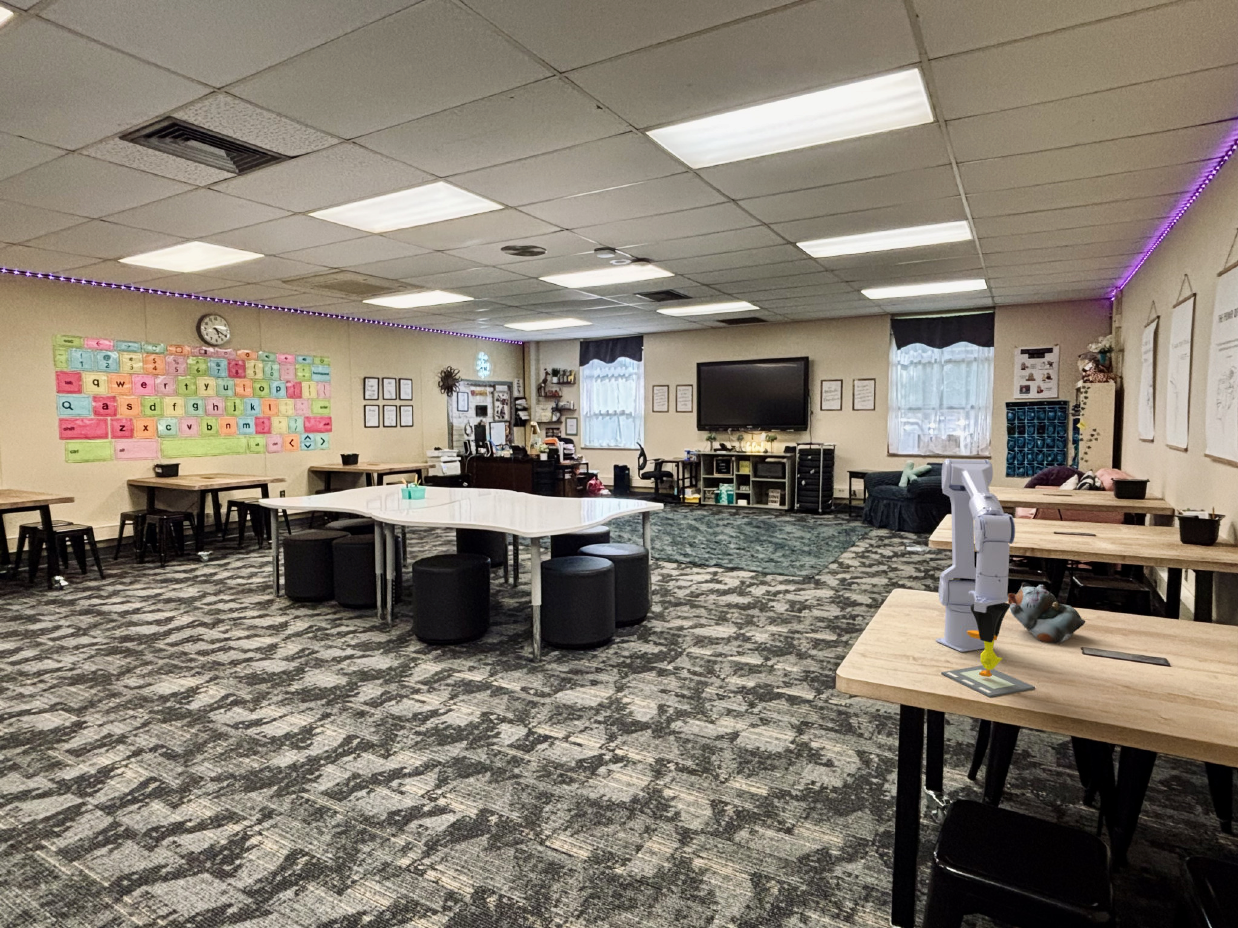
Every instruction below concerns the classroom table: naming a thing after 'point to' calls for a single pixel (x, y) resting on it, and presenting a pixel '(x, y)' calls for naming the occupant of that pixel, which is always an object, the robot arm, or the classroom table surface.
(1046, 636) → the lucky cat figurine
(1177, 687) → the classroom table surface
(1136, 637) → the classroom table surface
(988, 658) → the toy figure
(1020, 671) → the classroom table surface
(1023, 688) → the display panel
